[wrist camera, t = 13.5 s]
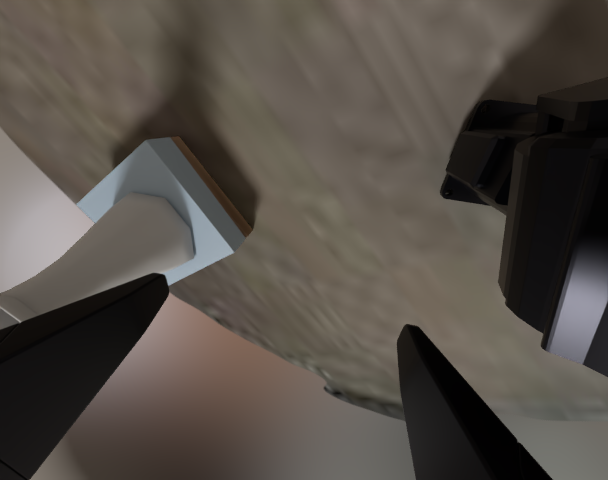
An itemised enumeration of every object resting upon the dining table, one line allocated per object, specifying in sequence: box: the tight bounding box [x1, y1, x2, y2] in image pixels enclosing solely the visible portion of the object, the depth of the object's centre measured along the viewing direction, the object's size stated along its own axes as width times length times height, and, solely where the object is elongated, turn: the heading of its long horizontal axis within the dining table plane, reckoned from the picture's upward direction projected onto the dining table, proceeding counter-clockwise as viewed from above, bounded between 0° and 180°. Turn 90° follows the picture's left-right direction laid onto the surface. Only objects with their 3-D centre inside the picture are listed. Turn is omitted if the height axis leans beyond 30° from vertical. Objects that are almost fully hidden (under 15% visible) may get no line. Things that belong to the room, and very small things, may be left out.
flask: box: [0, 192, 194, 329], centre depth 15 cm, size 7×7×10 cm
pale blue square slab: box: [76, 137, 246, 285], centre depth 20 cm, size 10×10×2 cm
